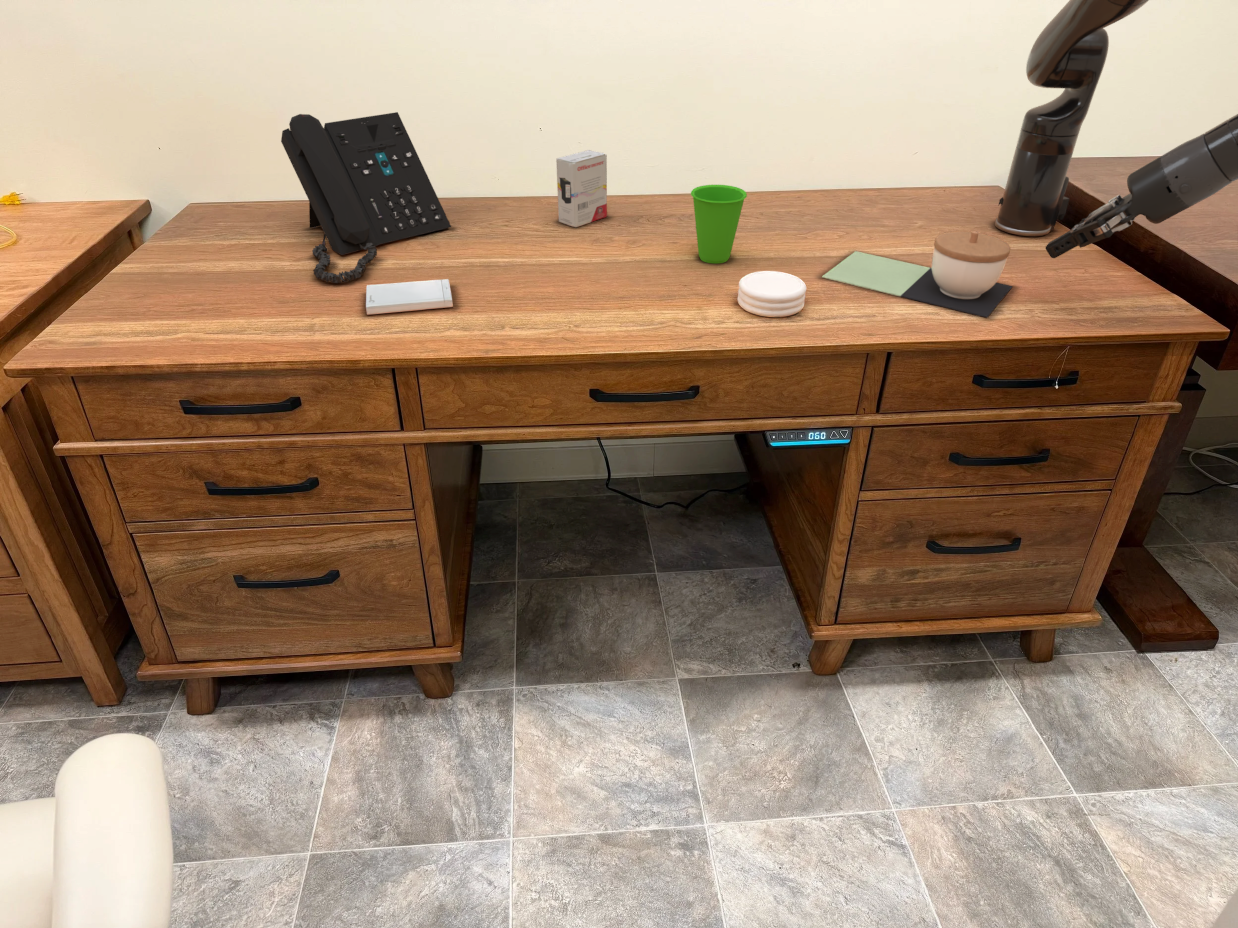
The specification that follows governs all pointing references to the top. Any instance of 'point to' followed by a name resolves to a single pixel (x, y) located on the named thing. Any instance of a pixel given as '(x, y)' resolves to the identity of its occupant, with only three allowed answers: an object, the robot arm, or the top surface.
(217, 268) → the top surface
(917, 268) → the runner mat
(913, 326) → the top surface
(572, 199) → the ink box
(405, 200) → the office phone
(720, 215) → the cup
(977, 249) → the trinket box
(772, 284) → the white round stack
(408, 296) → the hard drive
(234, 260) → the top surface
